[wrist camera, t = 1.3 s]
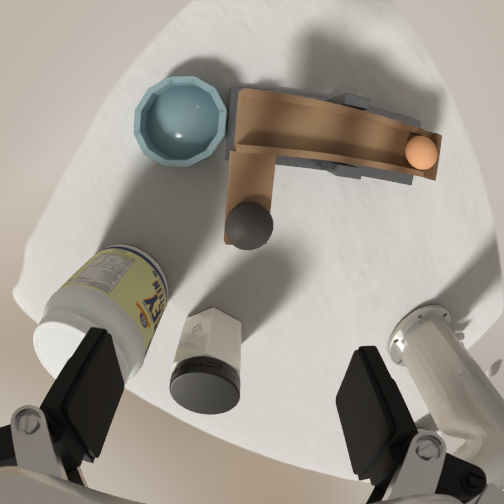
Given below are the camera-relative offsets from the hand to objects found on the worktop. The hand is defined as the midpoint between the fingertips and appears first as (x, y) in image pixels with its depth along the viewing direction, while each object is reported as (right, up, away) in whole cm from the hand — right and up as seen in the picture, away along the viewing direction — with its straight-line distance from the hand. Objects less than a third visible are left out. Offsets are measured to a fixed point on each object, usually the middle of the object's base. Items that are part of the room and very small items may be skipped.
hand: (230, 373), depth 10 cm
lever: (+9, +11, +17) cm, 22 cm away
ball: (+18, +14, +15) cm, 27 cm away
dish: (-7, +19, +20) cm, 29 cm away
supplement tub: (-16, 0, +28) cm, 33 cm away
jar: (-5, -7, +32) cm, 33 cm away
